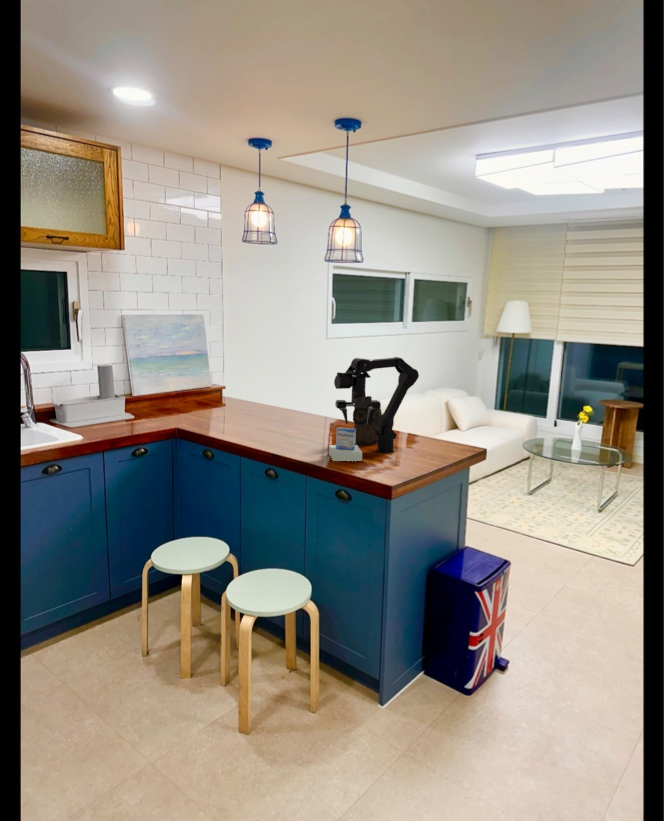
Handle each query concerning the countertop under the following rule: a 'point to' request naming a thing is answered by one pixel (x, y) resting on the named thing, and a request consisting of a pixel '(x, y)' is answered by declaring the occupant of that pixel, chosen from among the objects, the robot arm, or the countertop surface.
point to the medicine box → (345, 438)
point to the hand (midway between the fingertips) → (357, 424)
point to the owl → (365, 426)
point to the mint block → (345, 454)
